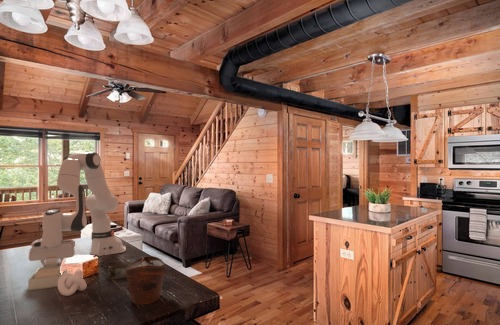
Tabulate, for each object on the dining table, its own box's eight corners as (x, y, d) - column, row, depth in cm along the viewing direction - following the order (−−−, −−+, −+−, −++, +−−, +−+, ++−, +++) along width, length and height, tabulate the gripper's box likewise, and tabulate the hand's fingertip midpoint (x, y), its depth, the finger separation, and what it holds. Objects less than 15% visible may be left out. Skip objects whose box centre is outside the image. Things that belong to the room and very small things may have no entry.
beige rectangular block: (59, 279, 153) (59, 267, 152) (57, 284, 147) (57, 271, 147) (39, 282, 149) (39, 269, 149) (35, 287, 144) (35, 273, 144)
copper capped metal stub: (59, 271, 159) (59, 254, 159) (56, 274, 155) (56, 257, 155) (48, 272, 157) (48, 255, 157) (45, 276, 153) (45, 258, 153)
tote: (69, 273, 163) (69, 264, 163) (62, 286, 147) (62, 276, 146) (39, 276, 158) (39, 267, 158) (28, 290, 141) (28, 280, 141)
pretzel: (61, 288, 145) (61, 270, 144) (89, 284, 149) (89, 267, 149) (55, 298, 134) (55, 278, 134) (85, 294, 138) (85, 275, 138)
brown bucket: (151, 284, 149) (151, 249, 149) (175, 297, 137) (175, 259, 136) (116, 298, 135) (116, 259, 135) (139, 313, 123) (139, 270, 122)
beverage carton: (108, 275, 162) (108, 263, 162) (145, 270, 170) (145, 258, 169) (108, 280, 155) (108, 268, 154) (146, 275, 162) (146, 263, 162)
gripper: (76, 237, 163) (76, 262, 163) (31, 241, 155) (31, 267, 155) (74, 240, 157) (73, 266, 157) (27, 244, 149) (27, 271, 149)
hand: (52, 266), depth 156 cm, fingers closed on copper capped metal stub, 5 cm apart
